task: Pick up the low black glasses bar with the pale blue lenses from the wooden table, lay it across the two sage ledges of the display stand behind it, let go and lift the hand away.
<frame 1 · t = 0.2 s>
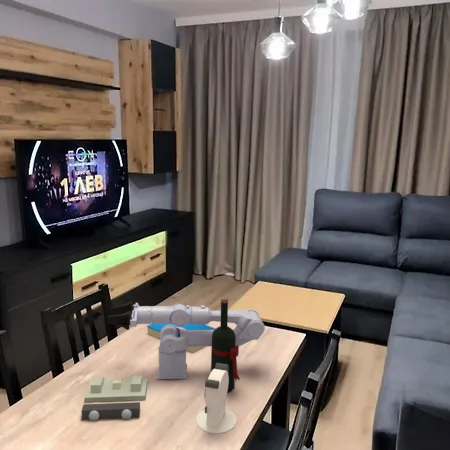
hand: (108, 315, 144), 22 cm above the table, tool horizontal, fingers open, 7 cm apart
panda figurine: (216, 420, 127), on the table
book: (183, 337, 179), on the table
display stand: (117, 391, 140), on the table
wine bottle: (225, 388, 143), on the table
glasses bar: (111, 415, 128), on the table
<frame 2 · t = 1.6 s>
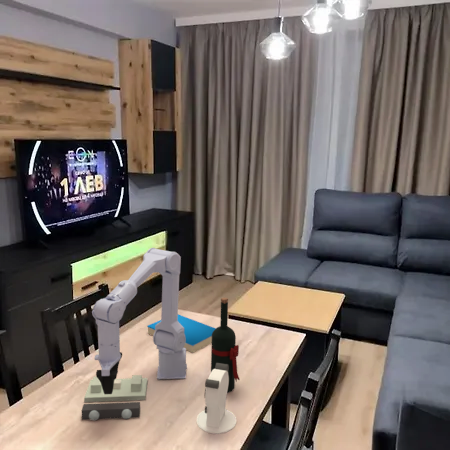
hand: (110, 385, 126), 9 cm above the table, tool pointing down, fingers open, 7 cm apart
nothing on the table moved.
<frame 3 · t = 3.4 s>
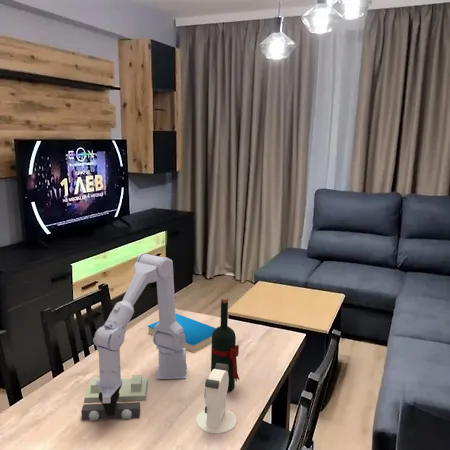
hand: (111, 411, 128), 1 cm above the table, tool pointing down, fingers closed on glasses bar, 3 cm apart
glasses bar: (111, 415, 128), on the table, touching gripper
everything else where it was.
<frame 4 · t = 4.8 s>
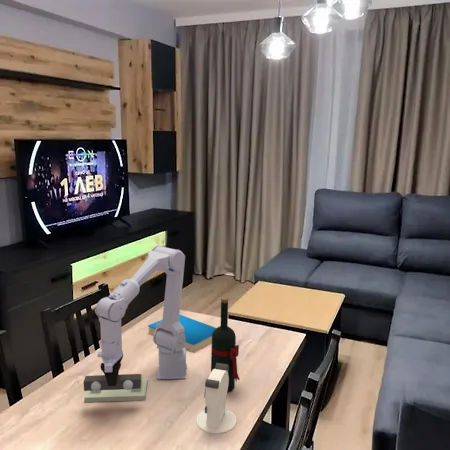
hand: (113, 381, 130), 8 cm above the table, tool pointing down, fingers closed on glasses bar, 3 cm apart
glasses bar: (113, 386, 131), point 7 cm above the table, touching gripper
everything else where it was.
when the fingers open (6 cm above the table, at t = 6.3 s): glasses bar stays where it is, resting on display stand.
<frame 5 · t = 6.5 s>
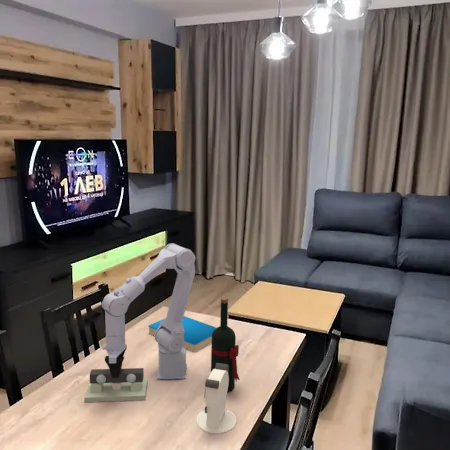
hand: (116, 373, 139), 6 cm above the table, tool pointing down, fingers open, 4 cm apart
glasses bar: (117, 380, 139), point 4 cm above the table, touching display stand
everything else where it was.
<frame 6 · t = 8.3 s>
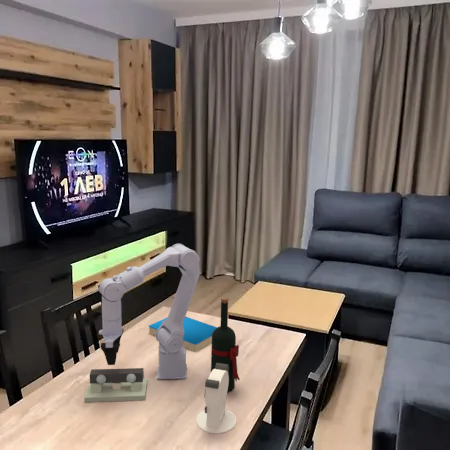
hand: (113, 358, 140), 10 cm above the table, tool pointing down, fingers open, 7 cm apart
nothing on the table moved.
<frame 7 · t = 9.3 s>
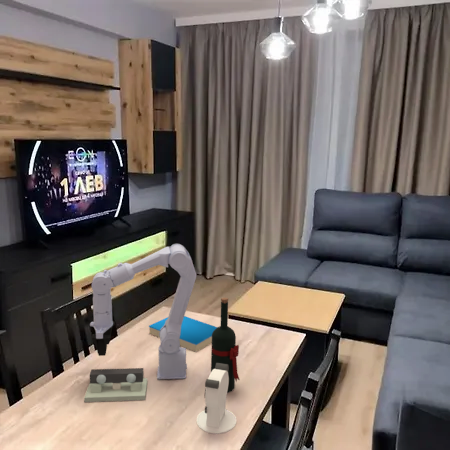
hand: (104, 349, 145), 10 cm above the table, tool pointing down, fingers open, 7 cm apart
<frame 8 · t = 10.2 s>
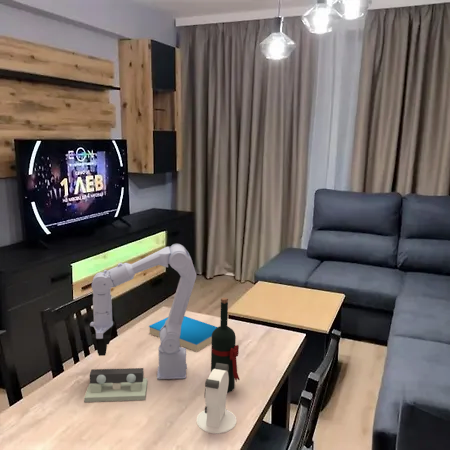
hand: (104, 349, 145), 10 cm above the table, tool pointing down, fingers open, 7 cm apart
at the end: glasses bar 0.1 cm off-centre on the display stand, point 4.0 cm above the display stand's base; glasses bar tilted 0°; the gripper is holding nothing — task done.
